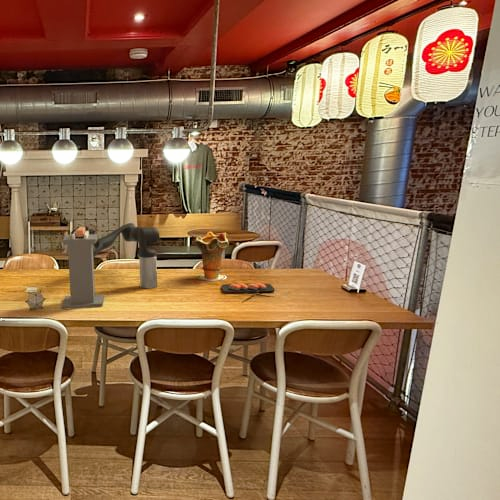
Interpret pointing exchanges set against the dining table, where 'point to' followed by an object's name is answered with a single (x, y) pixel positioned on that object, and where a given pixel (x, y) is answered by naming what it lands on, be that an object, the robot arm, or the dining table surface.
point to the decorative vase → (212, 255)
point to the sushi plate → (248, 288)
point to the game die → (35, 300)
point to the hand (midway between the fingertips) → (82, 228)
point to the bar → (80, 232)
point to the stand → (81, 272)
